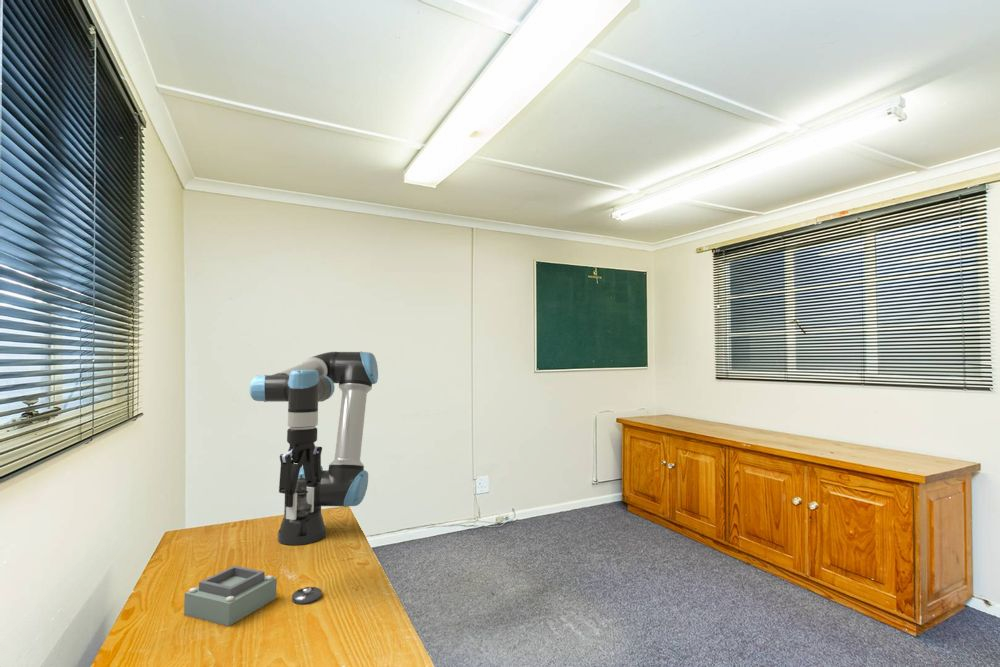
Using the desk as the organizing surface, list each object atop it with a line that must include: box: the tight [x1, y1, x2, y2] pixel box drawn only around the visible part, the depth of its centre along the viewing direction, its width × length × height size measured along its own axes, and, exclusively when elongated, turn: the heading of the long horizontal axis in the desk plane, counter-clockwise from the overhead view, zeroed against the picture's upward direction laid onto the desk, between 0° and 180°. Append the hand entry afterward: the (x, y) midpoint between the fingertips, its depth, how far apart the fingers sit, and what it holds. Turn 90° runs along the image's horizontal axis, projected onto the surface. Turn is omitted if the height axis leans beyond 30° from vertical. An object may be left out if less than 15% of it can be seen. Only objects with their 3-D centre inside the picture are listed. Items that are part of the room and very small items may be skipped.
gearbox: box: [183, 565, 278, 627], centre depth 121 cm, size 14×16×7 cm
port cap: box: [291, 586, 323, 605], centre depth 125 cm, size 7×7×2 cm
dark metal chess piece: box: [289, 475, 312, 524], centre depth 131 cm, size 6×6×12 cm
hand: (299, 514), depth 131 cm, fingers closed on dark metal chess piece, 6 cm apart
